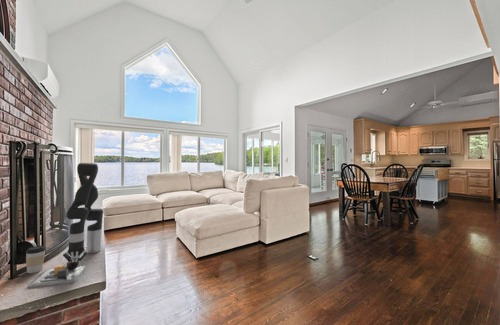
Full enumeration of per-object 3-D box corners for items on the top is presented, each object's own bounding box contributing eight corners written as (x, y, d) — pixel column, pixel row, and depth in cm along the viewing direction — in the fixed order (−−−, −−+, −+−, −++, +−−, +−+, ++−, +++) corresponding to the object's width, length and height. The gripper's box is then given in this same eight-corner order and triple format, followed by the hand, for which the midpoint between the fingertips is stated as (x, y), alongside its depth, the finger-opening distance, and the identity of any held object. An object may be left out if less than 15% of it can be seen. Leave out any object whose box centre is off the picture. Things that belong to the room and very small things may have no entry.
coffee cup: (46, 269, 139) (48, 246, 139) (27, 275, 131) (28, 251, 131) (41, 265, 143) (42, 243, 143) (22, 271, 135) (23, 247, 135)
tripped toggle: (56, 272, 131) (56, 264, 131) (64, 272, 132) (64, 264, 132) (54, 274, 129) (54, 266, 129) (62, 274, 130) (62, 265, 130)
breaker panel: (44, 272, 135) (44, 262, 135) (85, 268, 142) (86, 258, 142) (27, 287, 120) (27, 275, 119) (74, 282, 127) (75, 270, 127)
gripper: (91, 236, 139) (90, 263, 139) (66, 238, 135) (65, 265, 135) (86, 241, 132) (85, 269, 132) (60, 242, 127) (59, 271, 127)
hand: (75, 267), depth 133 cm, fingers closed
